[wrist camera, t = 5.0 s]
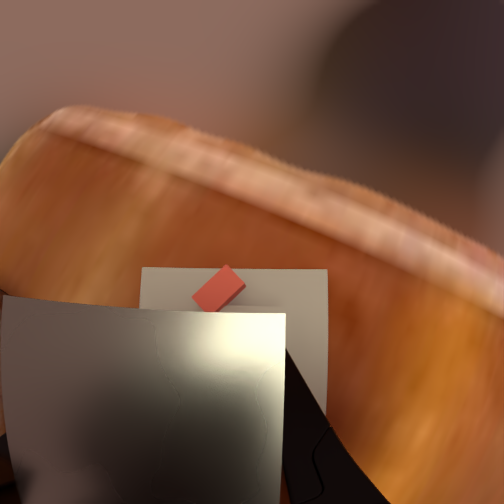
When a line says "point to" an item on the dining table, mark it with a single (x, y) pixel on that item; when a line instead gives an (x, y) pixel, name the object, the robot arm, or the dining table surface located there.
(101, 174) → the dining table surface
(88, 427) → the column
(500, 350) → the dining table surface
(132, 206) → the dining table surface
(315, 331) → the stand base
